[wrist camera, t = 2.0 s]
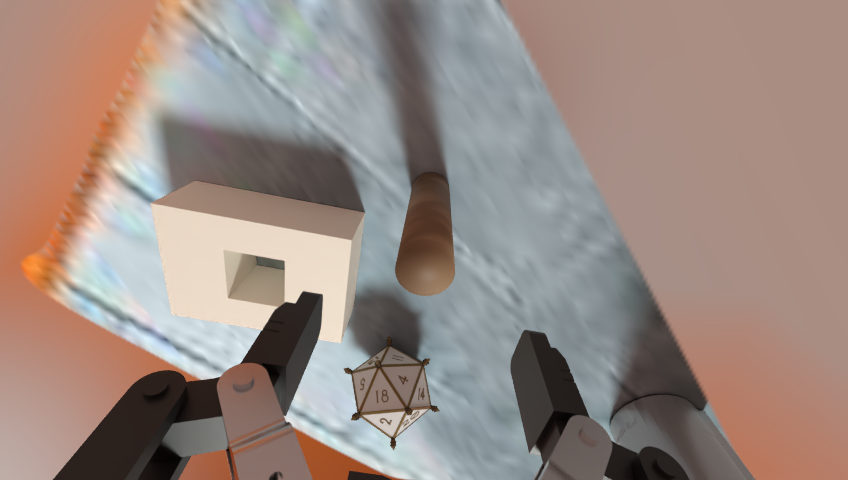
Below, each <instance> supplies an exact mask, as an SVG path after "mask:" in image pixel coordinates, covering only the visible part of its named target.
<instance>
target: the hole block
mask: <svg viewBox="0 0 848 480" xmlns="http://www.w3.org/2000/svg"><path fill="white" fill-rule="evenodd" d="M151 208H152V213H153V218H154V224H155V229H156V234H157V239H158V245H159V250H160V255H161V260H162V266H163V271H164V276H165V281H166V286H167V292H168V297H169V302H170V307H171V313H172V315H177V316H183V317H189V318H195V319H201V320H207V321H213V322H219V323H225V324H231V325H236V326H242V327H248V328H254V329H260V330H263V328H264V326H265V324H266V323H267V322H268V320H269V318H270V317H271V315H272V313H273V312H274V310H275V309H277V308H278V307H279V306H281V305H282V304H284V303H285V302H290V303H296V302H297V300H298V298H299V296H300V295H301V293H302V292H303V291H306V292H312V293H318V294H323V308H322V323H321V330H320V334H319V337H318V339H319V340H325V341H331V342H337V343H341V342H342V339H343V336H344V333H345V330H346V327H347V325H348V322H349V319H350V316H351V313H352V310H353V307H354V301H355V293H356V284H357V276H358V268H359V259H360V251H361V243H362V234H363V226H364V217H365V212H359V211H354V210H349V209H343V208H338V207H333V206H328V205H322V204H317V203H312V202H306V201H301V200H296V199H290V198H285V197H280V196H275V195H269V194H264V193H259V192H253V191H248V190H243V189H237V188H232V187H227V186H222V185H216V184H211V183H206V182H200V181H193V182H191V183H189V184H187V185H186V186H184V187H182V188H180V189H178V190H176V191H174V192H172V193H170V194H168V195H166V196H164V197H162V198H160V199H158V200H156V201H154V202H152V203H151ZM257 256H261V257H266V258H272V259H277V260H283V261H285V270H282V269H276V268H271V267H265V266H260V265H257Z"/></svg>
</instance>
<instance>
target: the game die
mask: <svg viewBox="0 0 848 480" xmlns="http://www.w3.org/2000/svg"><path fill="white" fill-rule="evenodd" d="M391 341H392V340H391V339H390V337H388V339H387V345H388V346H387V347H385V348H384V349H383V350H381V351H380V352H378V353H377V354H376V355H374V356H373V357H372V358H370V359H369V360H367V361H366V362H365V363H363V364H362V365H360V366H359V367H358V368H356V369H355V370H353V371H352V370H351V369H349V368H345V369H344V371H345V372H346V373H348V374H351V375H352V382H353V388H354V394H355V400H356V406H357V412H358V413H355V414H353V415H352V419H351V420H358V419H359V418H361V417H362V418H363V419H364V420H366V421H367V422H369V423H370V424H371V425H373V426H374V427H376V428H377V429H378V430H380V431H381V432H383V433H384V434H385V435H387V436H388V437H390V438H391V442H390V443H391V445H390V446H391V447H392V448H393V450H394V448H395V446H396V441H395V438H396V437H397V436H398V435H399V434H401V433H402V432H403V431H404V430H405V429H407V428H408V427H409V426H410V425H411V424H412V423H414V422H415V421H416V420H417V419H418V418H420V417H421V416H422V415H423V414H424V413H426V412H427V411H428V410H429V409H431V410H432V411H434V412H437V411H439V410H438V408H437V406H435V405H434V406H432V405H431V401H430V396H429V390H428V385H427V379H426V374H425V368H424V366H425V365H427V364H429V360H430V359H425V360H423V362H422V363H421V362H420V361H418V360H416V359H414V358H412V357H410V356H409V355H407V354H405V353H403V352H401V351H400V350H398V349H396V348H394V347H392V346H391V343H392V342H391Z"/></svg>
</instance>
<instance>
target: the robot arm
mask: <svg viewBox="0 0 848 480" xmlns="http://www.w3.org/2000/svg"><path fill="white" fill-rule="evenodd" d="M322 308H323V294H318V293H312V292H306V291H303V292H302V293H301V295H300V296H299V298H298V300H297V302H296V303H290V302H285V303H284V304H282V305H281V306H279V307H278V308H277V309H275V310H274V312H273V313H272V315H271V317H270V318H269V320H268V322H267V323H266V324H265V326H264V328H263V330H262V331H261V332H260V334H259V335H258V337H257V339H256V340H255V342H254V343H253V345H252V346H251V348H250V350H249V351H248V353H247V354H246V356H245V358H244V359H243V361H242V362H241V363H240V364H239V365H236V366H234V367H232V368H230V369H228V370H227V371H226V372H225V373H223V375H222V376H221V377H218V378H214V379H207V380H199V381H190V382H186V380H185V378H184V376H183V375H182V374H180V373H179V372H176V371H170V370H165V371H158V372H154V373H151V374H149V375H146V376H145V377H143V378H141V379H139V380H138V381H137V382H135V383H134V384H133V385H132V386H131V387H130V388H129V389H128V391H127V392H126V393H125V394H124V395H123V397H122V398H121V399H120V400H119V401H118V403H117V404H116V405H115V406H114V407H113V409H112V410H111V411H110V412H109V413H108V415H107V416H106V417H105V418H104V419H103V420H102V422H101V423H100V424H99V425H98V427H97V428H96V429H95V430H94V431H93V432H92V434H91V435H90V436H89V437H88V438H87V440H86V441H85V442H84V443H83V444H82V446H81V447H80V448H79V449H78V450H77V452H76V453H75V454H74V455H73V456H72V458H71V459H70V460H69V461H68V462H67V463H66V465H65V466H64V467H63V468H62V469H61V471H60V472H59V473H58V474H57V475H56V477H55V478H54V479H53V480H178V479H179V477H180V475H181V474H182V472H183V470H184V468H185V466H186V464H187V462H188V461H189V459H190V457H191V455H196V454H202V453H208V452H213V451H219V450H224V449H225V450H226V454H227V459H228V464H229V468H230V473H231V478H232V480H313V479H312V477H311V474H310V471H309V469H308V466H307V463H306V461H305V458H304V455H303V453H302V450H301V448H300V445H299V442H298V439H297V437H296V434H295V432H294V429H293V427H292V425H291V423H290V422H288V423H287V422H286V421H285V418H284V416H286V414H287V412H288V410H289V407H290V405H291V402H292V400H293V398H294V395H295V393H296V391H297V388H298V386H299V383H300V381H301V379H302V376H303V374H304V371H305V369H306V367H307V364H308V362H309V359H310V357H311V355H312V352H313V350H314V348H315V345H316V343H317V340H318V337H319V334H320V330H321V323H322ZM511 375H512V379H513V384H514V388H515V392H516V397H517V401H518V406H519V410H520V414H521V419H522V423H523V428H524V432H525V436H526V441H527V445H528V450H529V454H534V455H541V457H542V461H543V464H542V465H541V467H540V469H539V471H538V473H537V475H536V477H535V479H534V480H755V478H754V477H753V476H752V474H751V473H750V472H749V470H748V469H747V468H746V466H745V465H744V464H743V462H742V461H741V460H740V458H739V457H738V455H737V454H736V453H735V451H734V450H733V449H732V447H731V446H730V445H729V443H728V442H727V441H726V439H725V438H724V437H723V435H722V434H721V433H720V431H719V430H718V429H717V427H716V426H715V425H714V423H713V422H712V421H711V419H710V418H709V416H708V415H707V414H706V412H705V411H701V410H697V409H696V408H695V407H694V406H693V405H692V404H691V403H690V402H689V401H687V400H686V399H683V398H681V397H678V396H672V395H654V396H648V397H644V398H640V399H638V400H635V401H633V402H631V403H629V404H627V405H625V406H624V407H623V408H621V409H620V410H619V411H618V412H617V413H616V414H615V415H614V417H613V419H612V421H611V425H610V429H611V433H612V435H613V437H614V440H615V442H616V443H614V442H612V441H611V439H610V437H609V435H608V433H607V432H606V431H605V429H604V428H603V427H602V426H601V425H600V424H599V423H597V422H596V421H594V420H593V419H591V418H590V417H589V415H588V412H587V410H586V407H585V405H584V403H583V400H582V398H581V395H580V393H579V391H578V388H577V386H576V383H574V379H573V376H572V374H571V373H570V369H569V367H568V364H567V362H566V359H565V358H564V357H563V356H562V355H561V353H560V352H559V351H558V350H557V349H556V348H551V347H550V344H549V342H548V339H547V337H546V335H545V334H544V333H541V332H535V331H529V330H524V331H523V333H522V335H521V338H520V340H519V342H518V345H517V347H516V349H515V352H514V354H513V356H512V360H511ZM283 415H284V416H283ZM348 480H391V479H389V478H387V477H384V476H382V475H374V474H367V473H361V472H353V471H349V476H348Z"/></svg>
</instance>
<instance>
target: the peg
mask: <svg viewBox="0 0 848 480" xmlns="http://www.w3.org/2000/svg"><path fill="white" fill-rule="evenodd" d="M395 273H396V277H397V279H398V281H399V283H400V284H401V285H402V286H403V287H404V288H405V289H406V290H408V291H409V292H411V293H413V294H416V295H422V296H430V295H435V294H438V293H440V292H442V291H444V290H445V289H447V288H448V287H449V286H450V284H451V283H452V281H453V279H454V275H455V264H454V250H453V235H452V221H451V206H450V192H449V185H448V182H447V181H446V179H445V178H444V177H443V176H441V175H440V174H437V173H433V172H428V173H424V174H422V175H420V176H419V177H417V178H416V180H415V181H414V183H413V186H412V191H411V196H410V200H409V205H408V210H407V215H406V219H405V224H404V229H403V234H402V238H401V243H400V248H399V253H398V257H397V262H396V267H395Z"/></svg>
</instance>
